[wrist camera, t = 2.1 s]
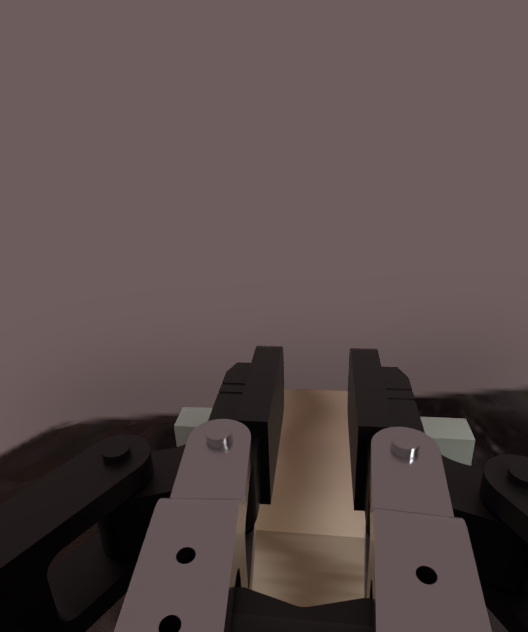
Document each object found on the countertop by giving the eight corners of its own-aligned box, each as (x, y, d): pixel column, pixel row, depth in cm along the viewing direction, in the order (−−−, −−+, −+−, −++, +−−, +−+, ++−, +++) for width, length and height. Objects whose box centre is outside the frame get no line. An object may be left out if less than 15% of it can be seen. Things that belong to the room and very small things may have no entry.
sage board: (458, 463, 44) (466, 417, 42) (467, 486, 42) (475, 438, 40) (188, 448, 48) (182, 405, 45) (179, 469, 45) (173, 424, 43)
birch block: (378, 516, 39) (388, 392, 34) (401, 694, 27) (421, 541, 22) (258, 508, 40) (251, 387, 35) (229, 675, 28) (214, 526, 24)
